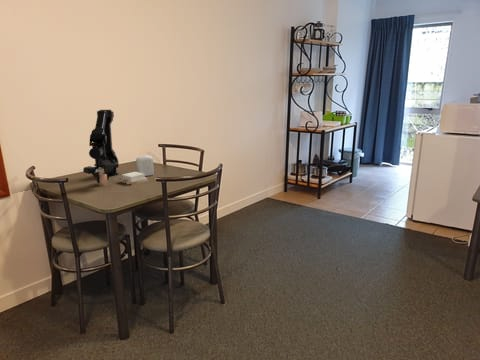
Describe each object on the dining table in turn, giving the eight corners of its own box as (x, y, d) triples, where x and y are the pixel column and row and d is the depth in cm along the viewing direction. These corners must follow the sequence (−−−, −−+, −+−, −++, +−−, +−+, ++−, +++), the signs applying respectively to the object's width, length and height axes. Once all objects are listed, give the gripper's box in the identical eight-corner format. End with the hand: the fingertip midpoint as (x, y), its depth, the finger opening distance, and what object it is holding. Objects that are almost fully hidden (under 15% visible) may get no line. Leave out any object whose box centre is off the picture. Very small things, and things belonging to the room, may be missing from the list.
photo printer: (152, 173, 226) (151, 154, 223) (155, 175, 223) (153, 155, 219) (136, 176, 221) (134, 156, 217) (138, 177, 217) (137, 157, 214)
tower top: (122, 178, 207) (121, 174, 207) (135, 175, 214) (135, 171, 213) (131, 181, 202) (131, 177, 201) (144, 178, 209) (144, 174, 208)
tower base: (120, 183, 208) (119, 179, 207) (135, 179, 216) (135, 175, 216) (132, 186, 201) (131, 182, 201) (147, 181, 210) (147, 177, 209)
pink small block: (96, 184, 202) (95, 174, 201) (104, 182, 206) (103, 172, 205) (101, 186, 200) (100, 175, 198) (109, 184, 203) (108, 173, 202)
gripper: (93, 159, 187) (96, 188, 191) (123, 153, 201) (125, 180, 205) (81, 157, 193) (84, 185, 197) (111, 151, 207) (113, 177, 212)
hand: (102, 182), depth 203 cm, fingers closed on pink small block, 5 cm apart
